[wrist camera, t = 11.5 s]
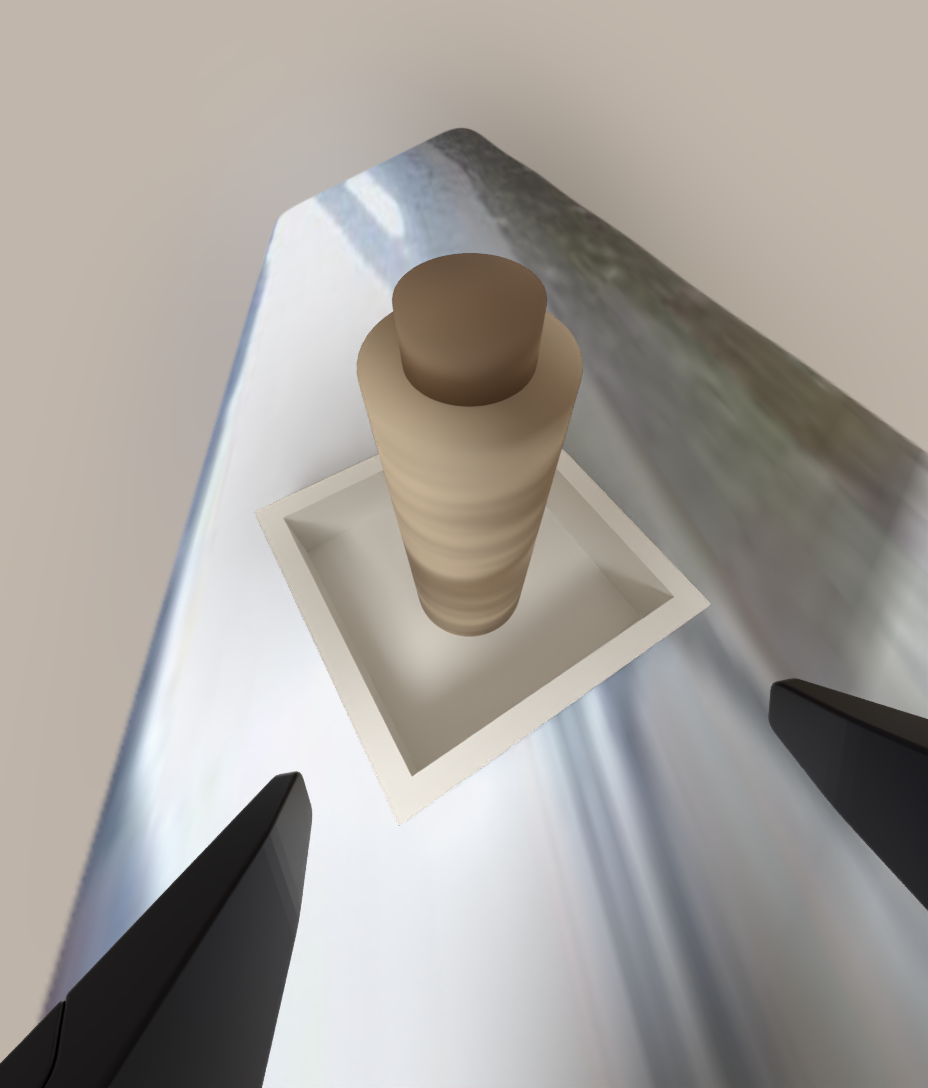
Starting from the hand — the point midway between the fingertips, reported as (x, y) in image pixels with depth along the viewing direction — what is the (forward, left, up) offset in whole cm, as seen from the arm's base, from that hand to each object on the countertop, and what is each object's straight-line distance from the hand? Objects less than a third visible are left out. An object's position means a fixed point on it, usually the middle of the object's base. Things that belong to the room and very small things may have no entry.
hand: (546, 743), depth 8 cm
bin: (+3, +7, -11) cm, 14 cm away
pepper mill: (+3, +7, -11) cm, 13 cm away
